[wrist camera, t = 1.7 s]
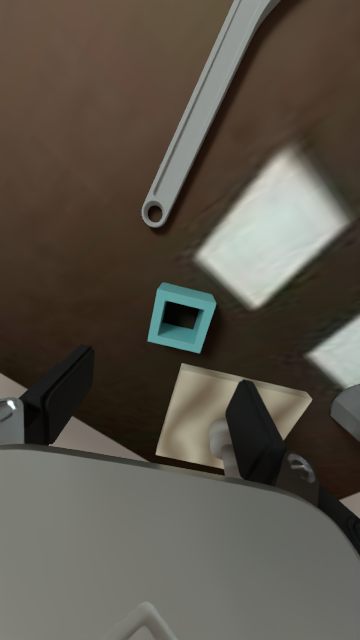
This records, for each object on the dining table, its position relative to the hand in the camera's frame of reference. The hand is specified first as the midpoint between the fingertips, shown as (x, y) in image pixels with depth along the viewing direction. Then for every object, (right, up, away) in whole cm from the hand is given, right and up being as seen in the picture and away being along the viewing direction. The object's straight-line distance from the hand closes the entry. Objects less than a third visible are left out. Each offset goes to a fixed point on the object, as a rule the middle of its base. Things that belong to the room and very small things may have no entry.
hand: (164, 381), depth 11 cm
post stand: (+9, -14, +20) cm, 26 cm away
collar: (+1, +5, +12) cm, 13 cm away
